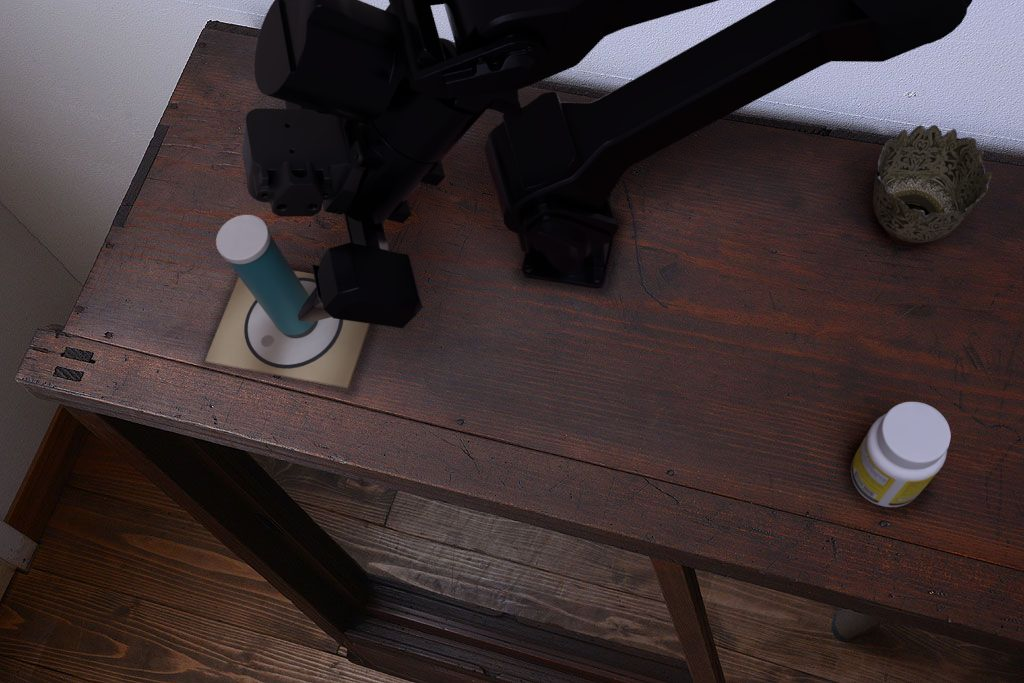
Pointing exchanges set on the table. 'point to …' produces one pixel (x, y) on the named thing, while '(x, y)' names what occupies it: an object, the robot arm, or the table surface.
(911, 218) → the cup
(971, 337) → the table surface
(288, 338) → the sketch board
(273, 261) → the paint dauber
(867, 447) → the supplement bottle
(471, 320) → the table surface
